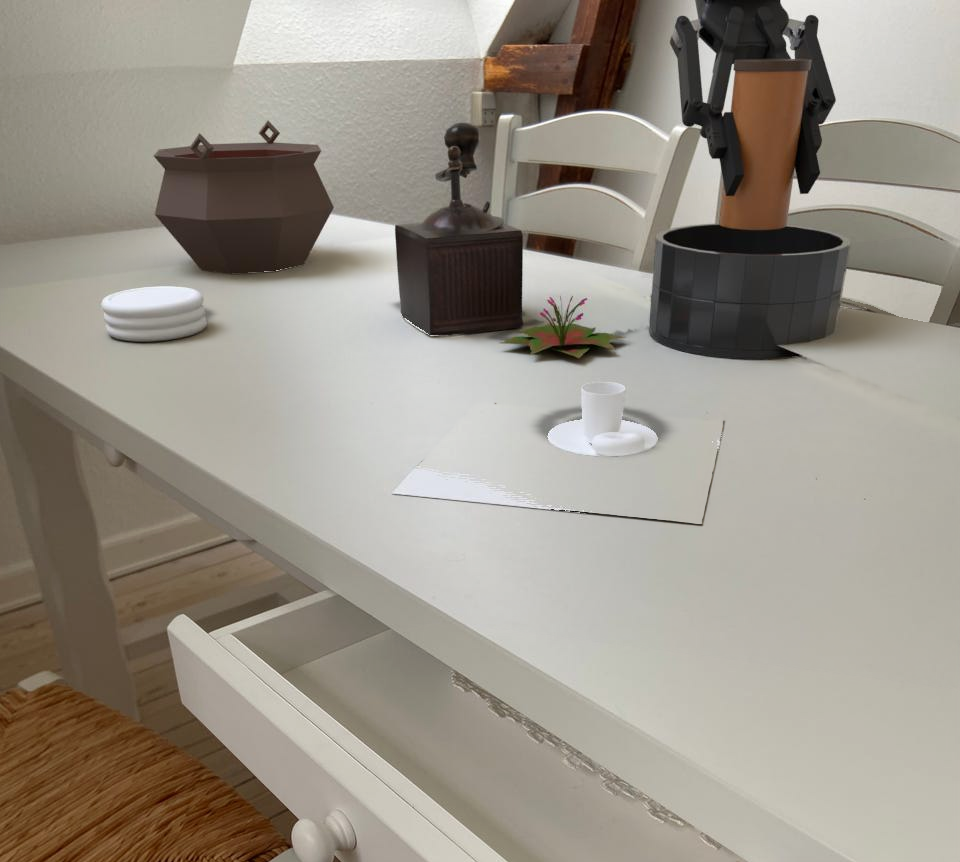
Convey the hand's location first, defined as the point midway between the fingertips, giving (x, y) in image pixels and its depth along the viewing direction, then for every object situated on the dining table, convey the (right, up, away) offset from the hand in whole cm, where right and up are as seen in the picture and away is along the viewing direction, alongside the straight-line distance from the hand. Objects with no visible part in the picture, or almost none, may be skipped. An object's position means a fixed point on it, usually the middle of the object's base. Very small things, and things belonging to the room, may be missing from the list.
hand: (772, 184), depth 89 cm
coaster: (-59, -9, +14) cm, 62 cm away
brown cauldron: (-56, +10, +45) cm, 73 cm away
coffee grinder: (-29, -6, +18) cm, 35 cm away
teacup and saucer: (-19, -27, -17) cm, 38 cm away
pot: (0, -10, +10) cm, 15 cm away
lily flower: (-18, -13, +7) cm, 23 cm away
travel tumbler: (0, -1, +5) cm, 5 cm away
